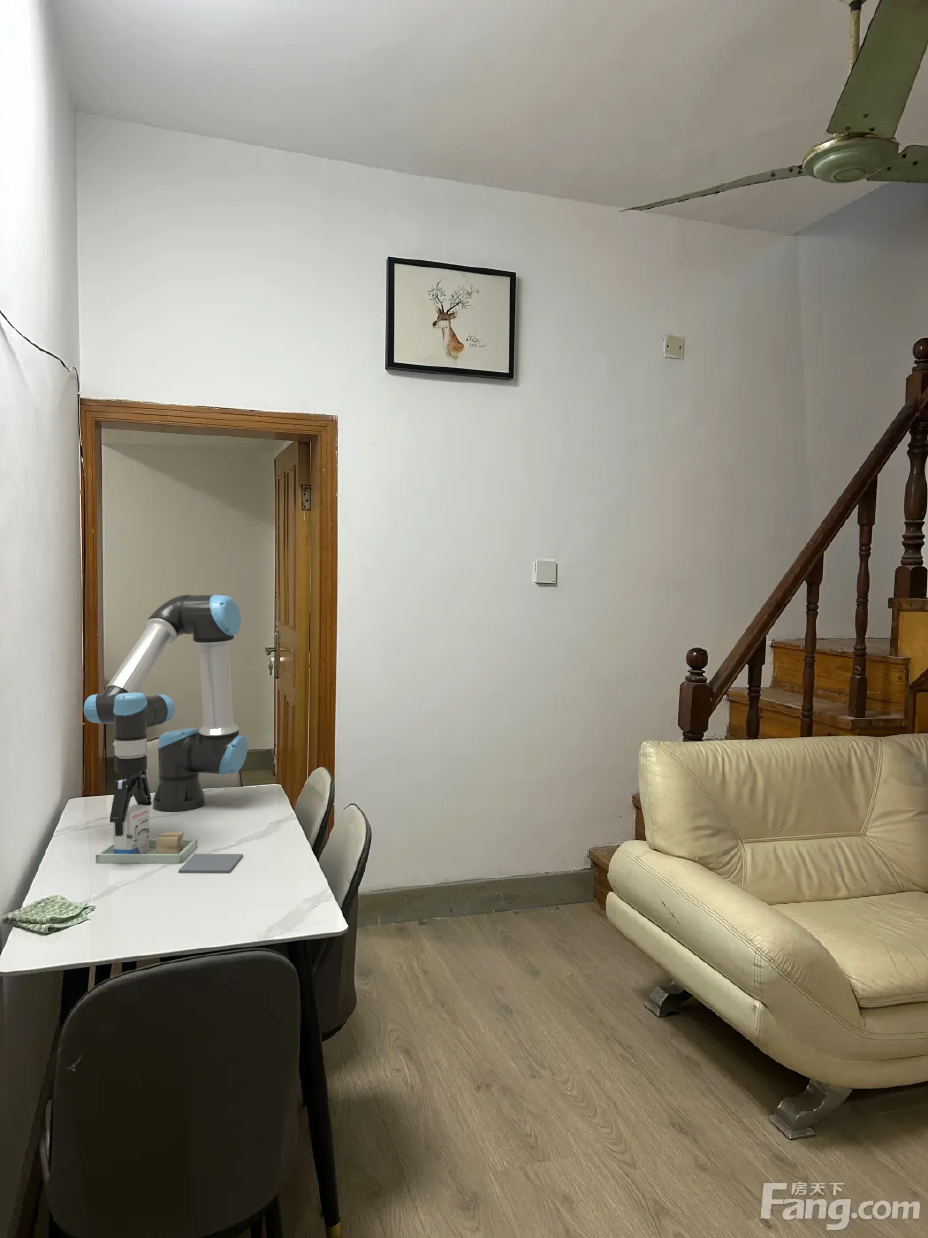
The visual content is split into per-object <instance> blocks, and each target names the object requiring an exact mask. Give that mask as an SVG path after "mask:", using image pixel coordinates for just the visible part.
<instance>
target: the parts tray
mask: <svg viewBox="0 0 928 1238" xmlns="http://www.w3.org/2000/svg"><path fill="white" fill-rule="evenodd" d="M197 848H198V839H195V838H193V839H190V838H189V839H188V838H186V839H185V838H183V850H182V851H181V852H180V853H179V854H156V853H144V854H114V841H113V842H111V843H110V844H109V845H107V846H105V848H103V849H101V850H100V851H99V852H98V853H96V854H95V864H182V863H183V862H184V860H185V859H187V858H188V857H189V856H190V855H191V854H192V853H193V852H194V851H195V850H196V849H197ZM149 849H156V839H155V838H151V839H150V838H149Z"/></svg>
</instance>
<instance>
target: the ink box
mask: <svg viewBox="0 0 928 1238" xmlns="http://www.w3.org/2000/svg"><path fill="white" fill-rule="evenodd" d="M125 821H127V848H126V849H115V846H114V852H113V854H147V853H148V852H149V851H150V848H149V839H150V806H147V805H138V804H137V803H136V804H135V803H134V804H129V807H128V810H127V814H126V818H125ZM112 823H113V829H114V822H112Z"/></svg>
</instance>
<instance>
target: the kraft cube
mask: <svg viewBox="0 0 928 1238" xmlns="http://www.w3.org/2000/svg"><path fill="white" fill-rule="evenodd" d="M183 839H184V832H162V833H161V834H160V835H159V836H158V837H156V848H155V849H156V851H155V852H156V853H155V854H179V853H180V852H181V851H182V850H183V849H184V848H183Z"/></svg>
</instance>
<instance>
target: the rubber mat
mask: <svg viewBox="0 0 928 1238" xmlns="http://www.w3.org/2000/svg"><path fill="white" fill-rule="evenodd" d="M243 857H244V853H194V854H193V855H192V856H191V857H190V858H189V859H188V860H187V861H186V862H185V863H184V864H183V865H182V866H181V867H180V868H179V869H178V874H230V873H231V872H232V870H234V869H235V868H236V865H238V864H239V862H240V861H241V860H242V858H243Z"/></svg>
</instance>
